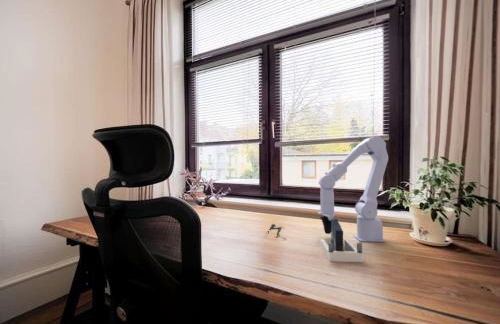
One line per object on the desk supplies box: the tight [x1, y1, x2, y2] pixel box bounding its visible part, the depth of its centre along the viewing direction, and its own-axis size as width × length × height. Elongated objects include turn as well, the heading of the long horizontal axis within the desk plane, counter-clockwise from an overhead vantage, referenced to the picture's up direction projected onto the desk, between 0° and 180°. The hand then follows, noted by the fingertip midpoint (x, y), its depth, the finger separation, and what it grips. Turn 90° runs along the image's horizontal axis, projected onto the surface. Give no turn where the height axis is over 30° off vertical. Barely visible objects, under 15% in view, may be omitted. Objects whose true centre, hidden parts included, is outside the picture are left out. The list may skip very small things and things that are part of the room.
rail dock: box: [320, 239, 363, 263], centre depth 83 cm, size 11×15×6 cm
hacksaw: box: [266, 223, 287, 241], centre depth 111 cm, size 24×10×2 cm, turn 164°
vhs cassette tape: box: [330, 218, 344, 251], centre depth 86 cm, size 18×3×10 cm, turn 164°
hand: (327, 233), depth 102 cm, fingers closed
